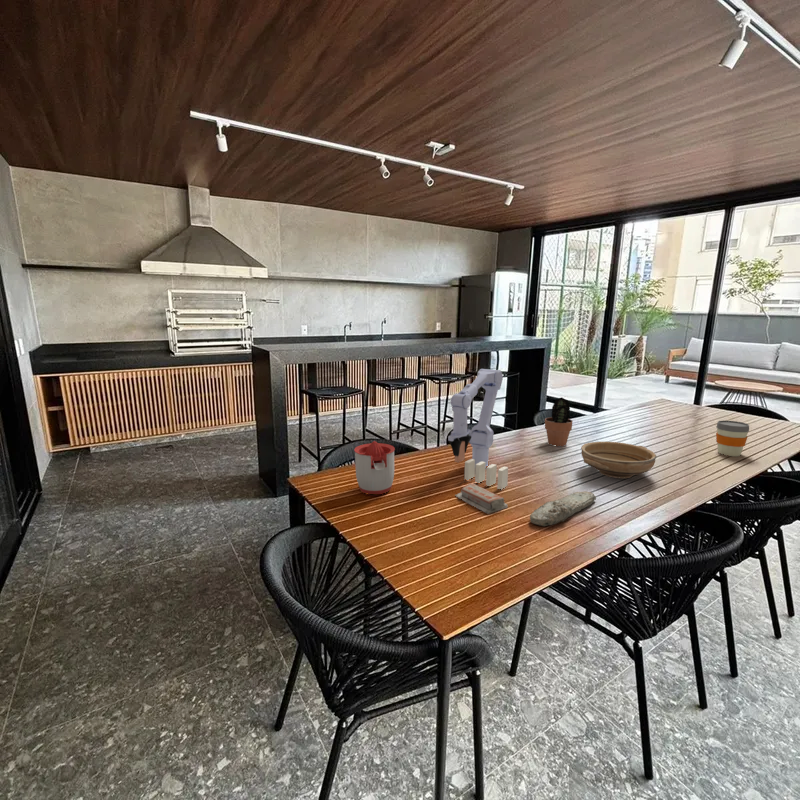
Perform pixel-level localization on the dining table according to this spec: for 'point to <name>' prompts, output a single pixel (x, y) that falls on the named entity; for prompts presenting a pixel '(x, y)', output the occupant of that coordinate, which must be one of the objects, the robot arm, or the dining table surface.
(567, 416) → the potted plant
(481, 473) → the domino
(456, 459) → the brown rectangular block
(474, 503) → the packaged product
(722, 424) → the reusable coffee cup
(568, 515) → the long grey stone
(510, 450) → the dining table surface
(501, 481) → the domino
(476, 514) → the dining table surface
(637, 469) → the ceramic bowl
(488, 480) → the domino
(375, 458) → the citrus juicer
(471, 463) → the cream white flat block
